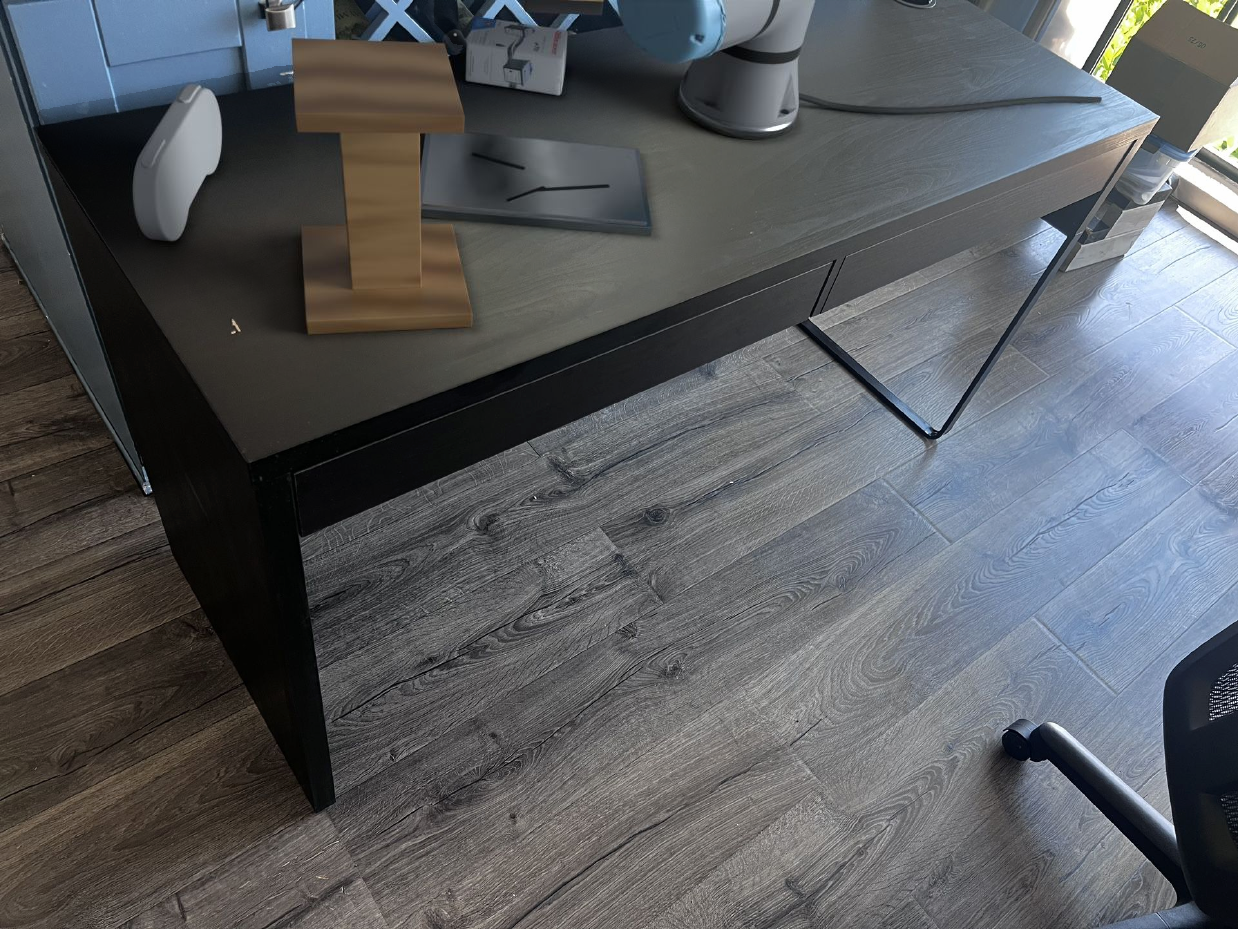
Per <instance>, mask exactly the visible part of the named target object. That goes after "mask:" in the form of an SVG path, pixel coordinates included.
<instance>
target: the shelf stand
mask: <svg viewBox="0 0 1238 929" xmlns="http://www.w3.org/2000/svg"><path fill="white" fill-rule="evenodd" d="M291 54H292V56H291V57H292V73H293V75H292V76H293V78H292V80H293V94H294V95H293V96H294V99H293V100H294V115H295V123H296V124H295V125H296V132H297V133H335V134H337V133H338V139H339V141H338V142H339V150H340V151H339V154H340V166H341V167H340V168H341V177H342V178H341V179H342V190H343V203H344V215H345V225H342V224H341V225H301V227H300V229H301V253H302V268H303V269H302V270H303V271H302V272H303V291H304V292H303V293H304V309H305V311H304V312H305V325H306V333H307V335H325V334H326V335H327V334H347V333H366V332H367V333H371V332H390V331H392V332H393V331H410V330H412V331H413V330H414V331H415V330H433V329H435V330H437V329H454V328H455V329H456V328H472V327H473V310H472V306H471V301H470V298H469V297H470V296H469V292H468V289H467V284H466V280H465V275H464V271H463V266H462V262H461V258H460V253H459V249H458V244H457V239H456V236H455V231H454V228H453V224H452V223H422V222H421V221H422V220H421V219H422V217H421V209H420V172H421V136H420V134H425V133H444V134H464V132H465V113H464V109H463V105H462V101H461V99H460V95H459V90H458V87H457V84H456V80H455V76H454V73H453V70H452V66H451V61H450V59H449V55H448V52H447V49H446V45H445V43H443V42H419V41H418V42H417V41H394V40H393V41H392V40H391V41H387V40H363V39H360V40H359V39H356V40H355V39H334V38H333V39H330V38H304V37H303V38H302V37H292V38H291Z"/></svg>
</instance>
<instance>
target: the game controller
mask: <svg viewBox="0 0 1238 929" xmlns="http://www.w3.org/2000/svg"><path fill="white" fill-rule="evenodd" d="M221 116H222V115H221V112H220V107H219V103H218V100H217V97H216V96H215V93H214V92H213V91H211V90H210V88H206V87H202V86H201V85H200V84H196V83H189V84H187V85H186V86H184V87H182V88H181V90H180V91H179V93H177V95H176V97H175V99H174V100H173V102H172V103H171V105H170V106H169V107H168V109H167V111H166V112H165V114H164V116H163V117H162V118H161V120H160V122H159V123H158V124H157V126H156V128H155V129H154V131H153V132H152V134H151V135H150V137H149V138H148V141H147V143H146V144H145V145H144V147H143V149H142V150H141V152H140V153H139V155H138V157H137V159H136V164H135V167H134V171H133V177H132V178H133V179H132V201H133V202H132V203H133V209H134V215H135V218H136V222H137V225H138V227H139V229H140V230H141V232H142V233H143V235H144V236H145V237H146V238H147V239H150V240H153V241H155V240H156V241H164V242H165V241H166V242H175V241H177V240H178V239H179V238H180V237H181V236H182V234H183V232H184V230H185V227H186V225H187V221H188V216H189V209H190V207H191V205H192V202H193V200H194V199H195V197H196V195H197V193H198V191H199V189H200V188H201V186H202V184H203V182H204V180H205V178H206V177H207V176H210V175H212V174H213V173H215V171H216V169H217V167H218V165H219V161H220V157H221V152H222V143H223V142H222V140H223V132H222V131H223V126H222V117H221Z"/></svg>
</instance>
